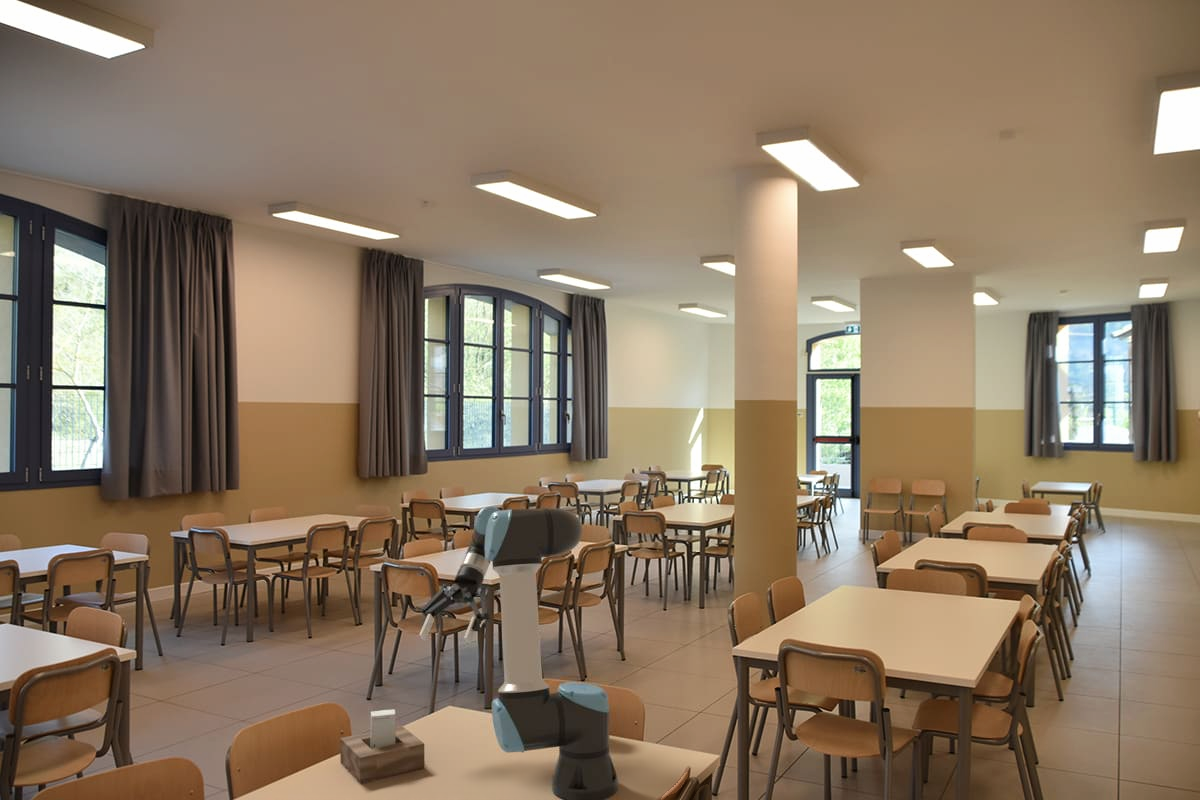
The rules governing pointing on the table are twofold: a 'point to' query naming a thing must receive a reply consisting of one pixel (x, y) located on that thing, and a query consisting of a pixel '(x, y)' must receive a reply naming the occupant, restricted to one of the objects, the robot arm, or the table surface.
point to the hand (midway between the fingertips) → (444, 639)
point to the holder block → (381, 755)
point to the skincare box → (382, 728)
